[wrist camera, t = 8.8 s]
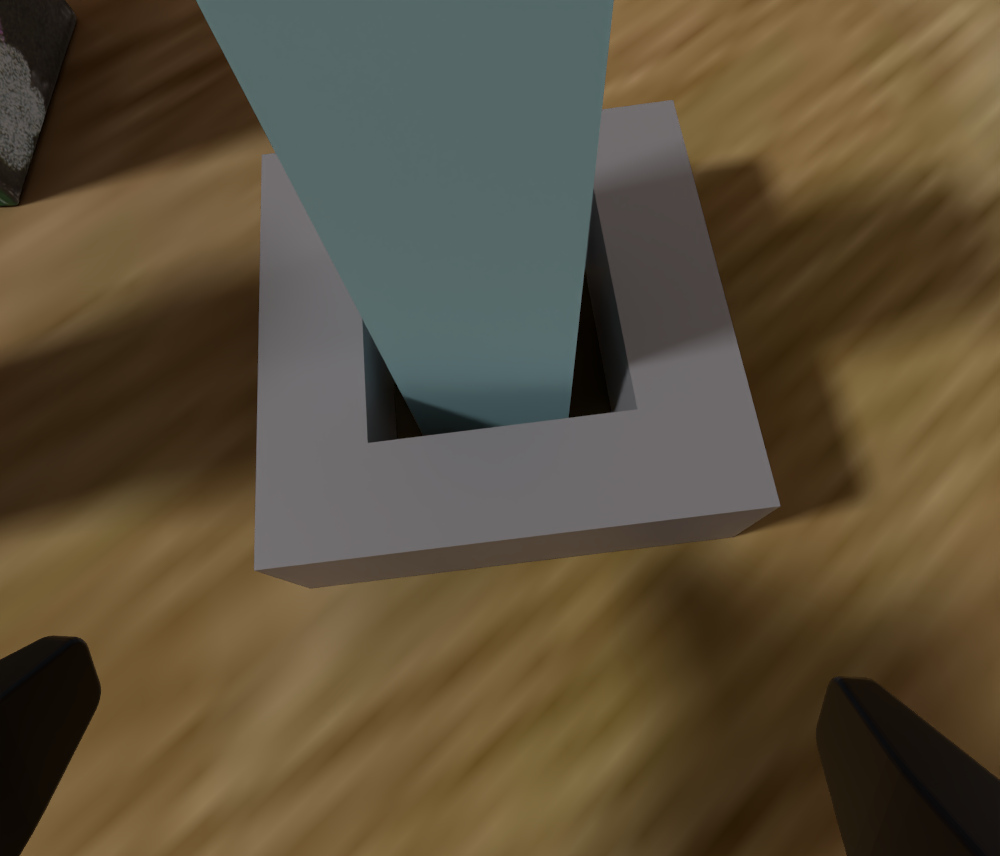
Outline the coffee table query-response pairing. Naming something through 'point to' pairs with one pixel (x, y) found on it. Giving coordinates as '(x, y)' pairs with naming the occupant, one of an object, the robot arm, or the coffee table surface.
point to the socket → (522, 447)
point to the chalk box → (27, 80)
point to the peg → (441, 179)
